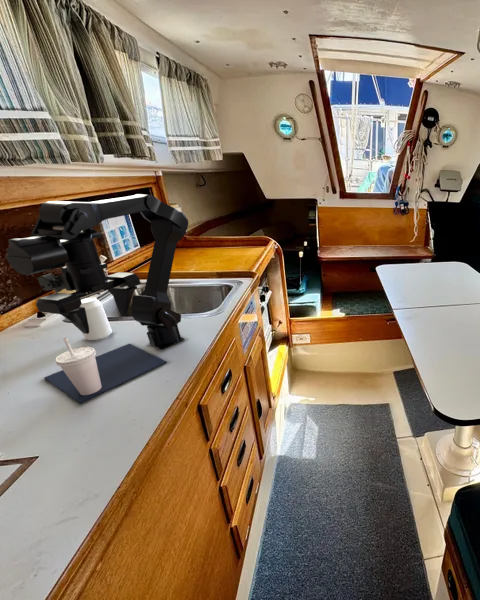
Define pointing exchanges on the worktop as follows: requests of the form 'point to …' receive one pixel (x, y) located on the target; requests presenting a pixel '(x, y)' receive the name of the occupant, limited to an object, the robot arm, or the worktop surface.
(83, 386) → the smoothie
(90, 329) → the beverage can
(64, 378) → the mat
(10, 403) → the worktop surface
